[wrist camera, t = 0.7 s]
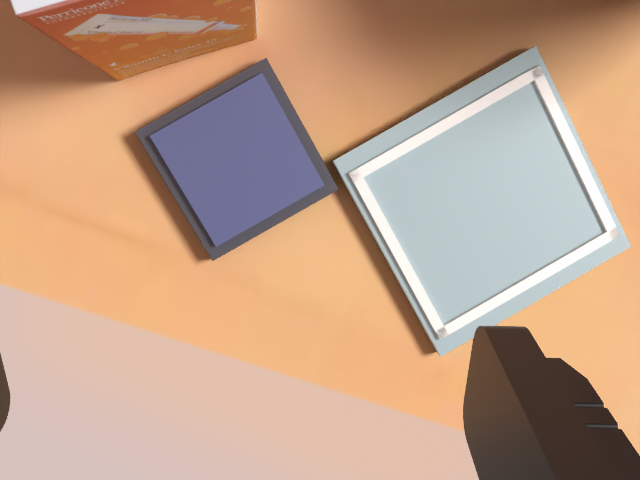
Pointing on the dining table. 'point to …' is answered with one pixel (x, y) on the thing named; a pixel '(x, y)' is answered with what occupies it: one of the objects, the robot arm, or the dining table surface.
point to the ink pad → (237, 159)
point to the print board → (483, 201)
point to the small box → (140, 29)
